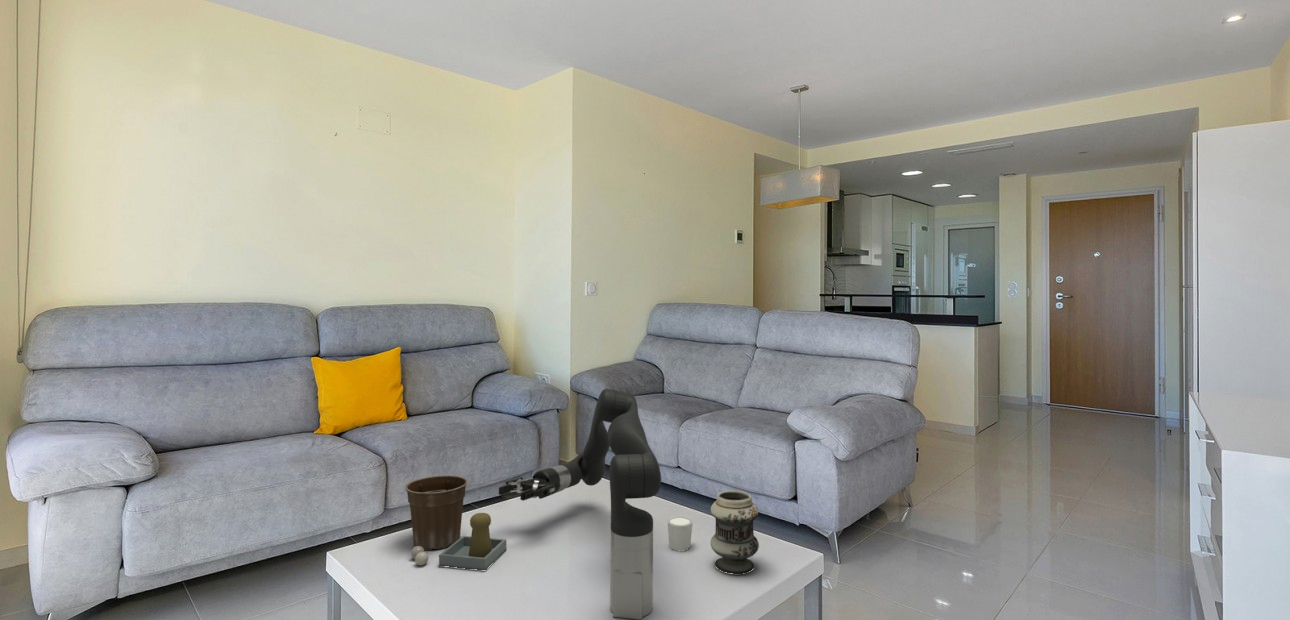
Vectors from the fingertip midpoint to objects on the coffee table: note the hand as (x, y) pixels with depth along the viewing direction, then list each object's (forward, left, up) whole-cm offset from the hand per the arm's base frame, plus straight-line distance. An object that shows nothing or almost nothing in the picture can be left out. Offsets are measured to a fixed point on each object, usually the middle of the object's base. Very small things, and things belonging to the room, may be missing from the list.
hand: (510, 494), depth 162 cm
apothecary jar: (-1, -60, -14) cm, 62 cm away
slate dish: (-10, +6, -14) cm, 18 cm away
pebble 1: (-13, +20, -14) cm, 27 cm away
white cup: (+8, -45, -14) cm, 48 cm away
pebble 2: (-16, +17, -14) cm, 27 cm away
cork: (-10, +4, -13) cm, 17 cm away
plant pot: (-2, +21, -14) cm, 25 cm away
